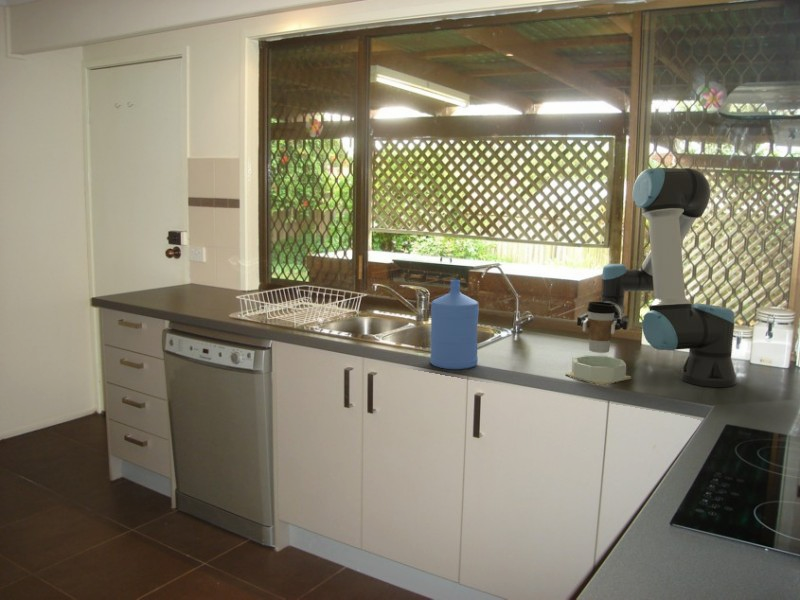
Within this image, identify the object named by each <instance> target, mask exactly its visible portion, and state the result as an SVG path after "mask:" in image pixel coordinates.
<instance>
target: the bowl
mask: <svg viewBox="0 0 800 600" xmlns="http://www.w3.org/2000/svg"><path fill="white" fill-rule="evenodd" d="M626 374H627V364H626V362H625V361H624V360H623V359H621V358H616V357H612V356H608V355H595V354H594V355H593V354H585V355H579V356H575V357H572V364H571V372H567V373H565V375H568V376H571V377H570V378H572V377H574V378H573V379H575V378H578V379H577V380H579V379H581V380H580V381H583V380H584V382H586V381H588V382H587V383H590V382H591V383H590V384H593V383H595V384H594V385H597V384H598V385H597V386H600V387H604V386H608V385H612V384H616V383H620V382H624V381H627V380H632V376H630V375H626ZM568 376H567V377H568ZM619 381H620V382H619ZM615 382H616V383H615ZM611 383H612V384H611ZM607 384H608V385H607Z"/></svg>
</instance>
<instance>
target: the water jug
mask: <svg viewBox="0 0 800 600" xmlns="http://www.w3.org/2000/svg"><path fill="white" fill-rule="evenodd" d="M460 282H461V280H460V279H450V285H449V287H450V290H449V292H448V293H446V294H444V295H442V296H440V297H437V298H436V299H434V300H432V301H431V303H430V304H431V306H430V319H431V320H430V322H431V323H430V327H431V328H430V358H429V359H430V360H429V361H430V363H431V365H432V366H434V367H437V368H440V369H445V370H465V369H467V370H468V369H470V368H473V367H476V366H477V365H478V363H479V362H478V361H479V358H478V357H479V356H478V325H479V313H480V312H479V311H480V307H479V301H477V300H476V299H473V298H471V297H469V296H468V295H465V294H463V293H462V292H461V291H460V289H461V283H460Z"/></svg>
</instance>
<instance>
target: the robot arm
mask: <svg viewBox="0 0 800 600" xmlns="http://www.w3.org/2000/svg"><path fill="white" fill-rule="evenodd" d="M710 187H711V186H710V184H709V180H708V179H707V177H706V176H705V175H704V174H703V173H702V172H700V171H699V170H697V169H694V168H687V167H685V168H684V167H682V168H680V167H676V168H675V167H661V166H660V167H659V166H658V167H651V168H646V169H644V170H642V171H641V172H640V173H639V174H638V176H637V178H636V179H635V182H634V184H633V188H632V201H633V204H635V206H636V207H638V208H640V209H641V211H642V214H641V215H642V216H643V217H644V218H645V219H646V221H648V231H649V246H650V247H649V248H650V250H649V252H648V254H647V255H646V257H645V259H644V261H643V262H642V264H641V265H640V267H639V268H637V269H631V268H630V269H627V267H626V265H625V264H622V263H607V264H605V265H604V266H603V267H602V273H601V274H602V275H601V296H600V302H608V303H613V304H615V309H616V312H615V313H614V322H613V323H612V325H611V334H612V335H614V334H615V332H616V331H619V330H621V329H622V330H624V331H625V330H628V329H627V328H628V322H629V321H628V320H629V318H628V317H629V316H628V315H624V313H625V293H627V292H653V297H654V298H653V301H652V302H651V303H650V304H649V306H648V307H649V311H647V312H646V313H645V314H644V315H643V319H642V322H641V327H642V328H641V329H642V333H643V337H644V338H645V340H646V341H647V343H648V344H649V346H651V347H652V348H653V349H655V350H658V351H675V350H688V355H687V358H686V360H685V362H684V365H683V367H682V369H681V374H680V375H681V376H680V379H681V380H682V381H684V382H686V383H689V384H692V385H697V386H701V387H709V388H729V387H733V386H735V385H736V382H737V374H736V371H735V368H734V364H733V360H732V351H733V340H734V332H735V331H734V330H735V324H736V323H735V312H734V311H733V310H732V309H731V308H729V307H728V308H727V307H723V306H718V305H713V304H705V303H698V302H697V303H693V304H692V302H691V301H690V300H689V299H688V298H686V290H685V277H684V266H683V265H684V264H683V252H682V251H683V250H682V249H683V248H682V243H683V241H684V240H685V237H686V236H687V234H688V233H689V231H690V229H691V227H692V226H693V224H694V222H695V221H696V219H698V218H701V217H702V216H703V214H704V213H705V211H706V209H707V207H708V204H709V201H710V197H711V188H710ZM588 317H589V313H588V311H587V312H586V311H585V312H584V313H583V314H581V315H580V316H578V317H577V321H576V326H580V327H582V332H586V331H587V330H588Z"/></svg>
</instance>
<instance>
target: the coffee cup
mask: <svg viewBox="0 0 800 600" xmlns="http://www.w3.org/2000/svg"><path fill="white" fill-rule="evenodd" d="M586 310H587V313H588V314H589V317H588V328H587V330H588V331H587V332H588V350H589V351H590V352H593V353H600V354H601V353H602V354H603V353H609V352H610V346H611V341H612V335H613V334H611V325H612V323H613V322H614V313H615V312H616V309H615V304H613V303H608V302H601V301H589V302H588V305H587V309H586Z"/></svg>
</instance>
